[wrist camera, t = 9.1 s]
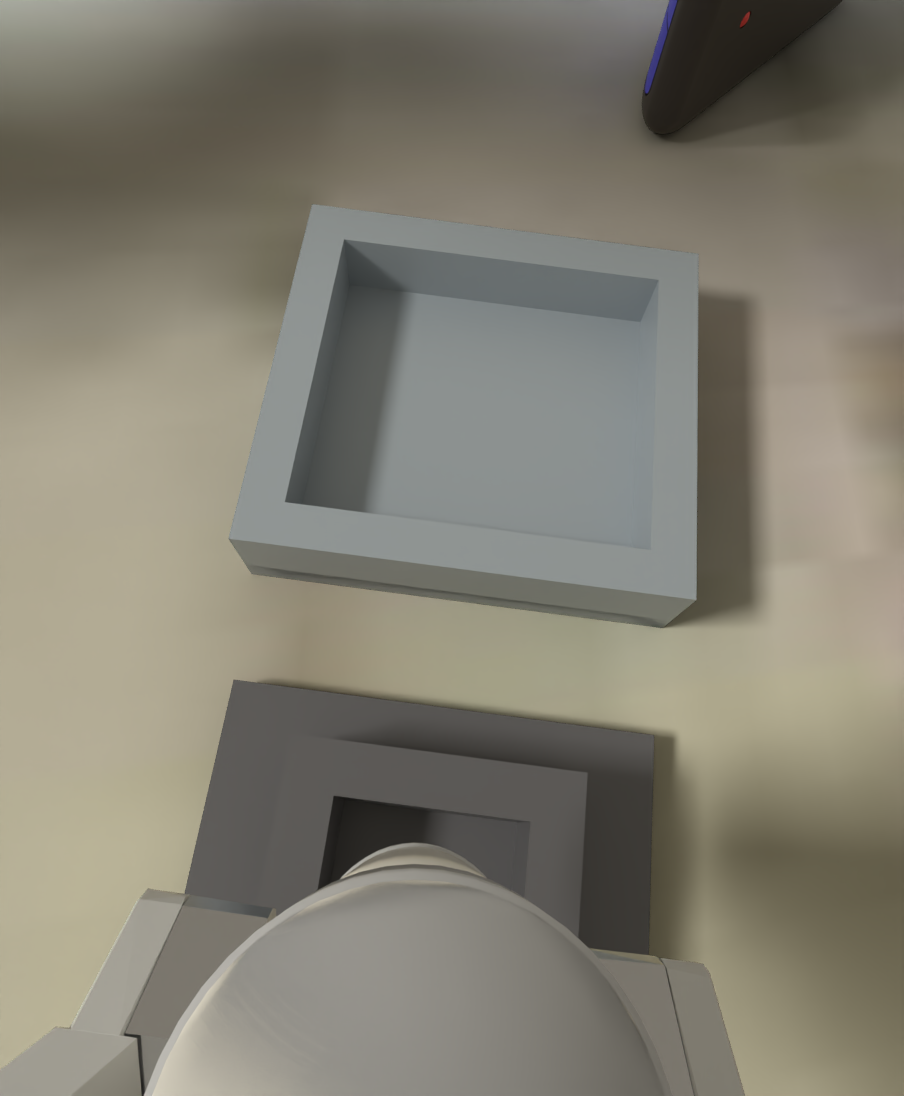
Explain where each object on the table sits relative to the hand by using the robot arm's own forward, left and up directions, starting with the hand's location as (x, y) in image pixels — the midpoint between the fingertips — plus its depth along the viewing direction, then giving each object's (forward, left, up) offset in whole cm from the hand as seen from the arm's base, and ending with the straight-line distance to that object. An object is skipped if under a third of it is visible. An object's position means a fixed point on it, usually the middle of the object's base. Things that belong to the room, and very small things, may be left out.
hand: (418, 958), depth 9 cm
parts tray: (0, +16, -16) cm, 23 cm away
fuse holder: (0, -1, -16) cm, 16 cm away
